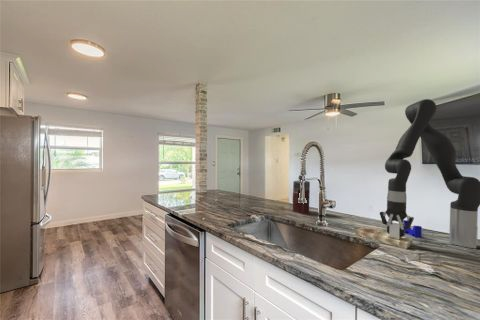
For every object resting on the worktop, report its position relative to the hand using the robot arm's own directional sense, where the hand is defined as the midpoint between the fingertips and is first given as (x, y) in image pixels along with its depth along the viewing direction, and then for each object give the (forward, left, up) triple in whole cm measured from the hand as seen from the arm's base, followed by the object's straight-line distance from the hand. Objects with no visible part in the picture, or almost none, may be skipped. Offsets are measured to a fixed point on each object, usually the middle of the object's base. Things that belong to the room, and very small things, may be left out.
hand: (395, 235), depth 103 cm
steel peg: (0, 0, -4) cm, 4 cm away
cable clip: (0, -23, -4) cm, 23 cm away
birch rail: (+5, 0, -4) cm, 7 cm away
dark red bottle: (+63, -12, -4) cm, 65 cm away
